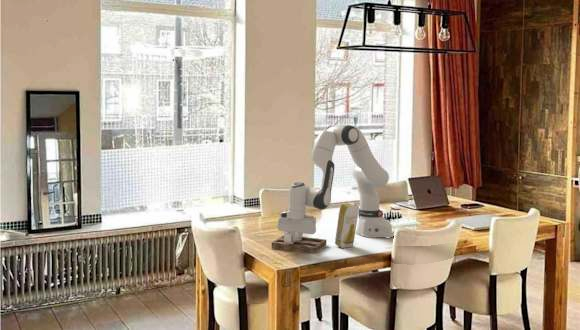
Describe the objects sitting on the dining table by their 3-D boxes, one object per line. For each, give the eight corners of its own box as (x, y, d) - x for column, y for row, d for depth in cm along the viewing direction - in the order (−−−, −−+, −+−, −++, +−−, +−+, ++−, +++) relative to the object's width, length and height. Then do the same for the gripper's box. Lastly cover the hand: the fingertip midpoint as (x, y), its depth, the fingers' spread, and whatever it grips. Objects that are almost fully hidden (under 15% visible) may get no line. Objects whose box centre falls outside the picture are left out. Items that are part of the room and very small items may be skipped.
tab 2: (301, 241, 343) (302, 228, 342) (299, 242, 340) (299, 229, 339) (294, 240, 345) (294, 227, 344) (292, 241, 341) (292, 228, 340)
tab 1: (293, 244, 335) (293, 231, 334) (290, 246, 332) (291, 233, 331) (286, 244, 337) (286, 230, 336) (283, 245, 333) (284, 232, 332)
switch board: (326, 245, 341) (326, 239, 341) (315, 253, 325) (315, 247, 324) (284, 240, 350) (284, 234, 349) (271, 248, 333) (271, 242, 333)
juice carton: (342, 249, 334) (348, 206, 328) (332, 243, 340) (338, 201, 333) (355, 246, 340) (362, 203, 333) (345, 241, 346) (351, 199, 339)
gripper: (318, 215, 329) (317, 241, 331) (281, 211, 337) (280, 237, 338) (314, 217, 324) (313, 244, 325) (276, 213, 331) (275, 239, 333)
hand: (296, 240), depth 332 cm, fingers closed
